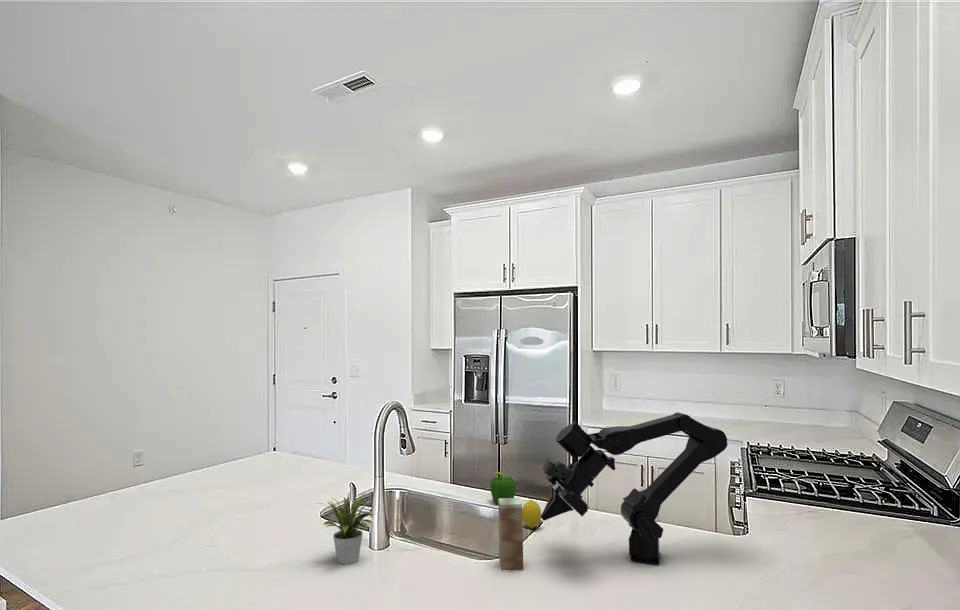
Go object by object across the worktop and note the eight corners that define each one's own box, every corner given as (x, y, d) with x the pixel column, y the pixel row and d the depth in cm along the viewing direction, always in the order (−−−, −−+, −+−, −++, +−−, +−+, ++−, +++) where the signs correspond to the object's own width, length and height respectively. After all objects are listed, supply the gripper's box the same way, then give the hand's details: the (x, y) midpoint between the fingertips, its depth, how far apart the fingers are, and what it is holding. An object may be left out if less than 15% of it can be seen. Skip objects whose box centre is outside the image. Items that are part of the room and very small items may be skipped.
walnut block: (519, 560, 125) (518, 497, 126) (523, 569, 120) (522, 504, 121) (499, 561, 125) (498, 498, 126) (502, 571, 120) (501, 505, 121)
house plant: (318, 579, 117) (319, 506, 118) (308, 557, 129) (309, 490, 130) (380, 566, 123) (379, 496, 124) (364, 546, 135) (364, 482, 137)
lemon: (540, 532, 143) (540, 503, 144) (521, 531, 144) (520, 502, 145) (542, 525, 148) (541, 497, 149) (523, 524, 150) (522, 496, 150)
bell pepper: (519, 500, 173) (518, 469, 173) (512, 507, 165) (511, 476, 166) (495, 498, 175) (494, 468, 176) (487, 505, 168) (487, 474, 168)
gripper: (553, 440, 135) (512, 485, 133) (572, 455, 116) (525, 508, 114) (583, 469, 135) (543, 514, 133) (607, 489, 116) (560, 542, 114)
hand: (542, 518), depth 124 cm, fingers closed
